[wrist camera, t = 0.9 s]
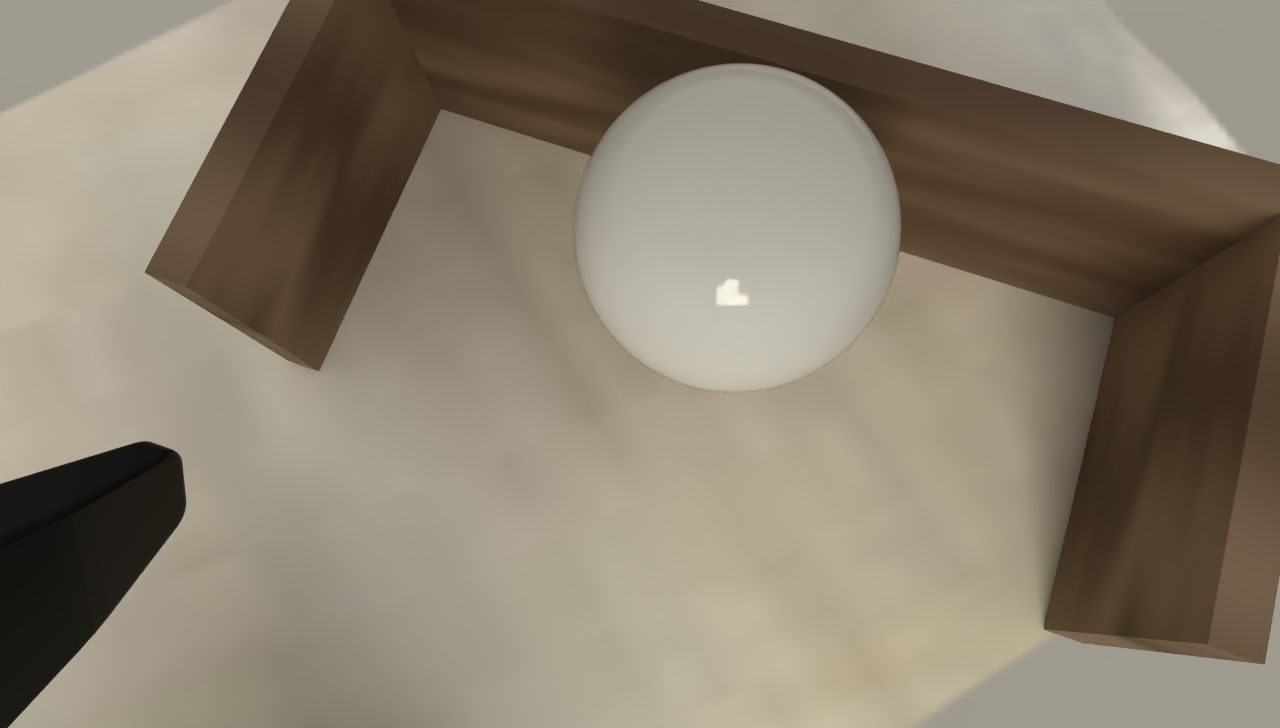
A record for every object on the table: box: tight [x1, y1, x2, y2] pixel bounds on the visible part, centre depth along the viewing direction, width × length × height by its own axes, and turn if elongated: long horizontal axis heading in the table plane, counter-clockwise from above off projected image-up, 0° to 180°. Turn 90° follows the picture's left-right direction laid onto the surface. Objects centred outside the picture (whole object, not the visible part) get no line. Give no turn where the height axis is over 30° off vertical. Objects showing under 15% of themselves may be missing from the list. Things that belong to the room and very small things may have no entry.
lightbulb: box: [573, 63, 901, 393], centre depth 19 cm, size 6×6×11 cm
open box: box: [145, 0, 1280, 664], centre depth 21 cm, size 10×23×7 cm, turn 70°
